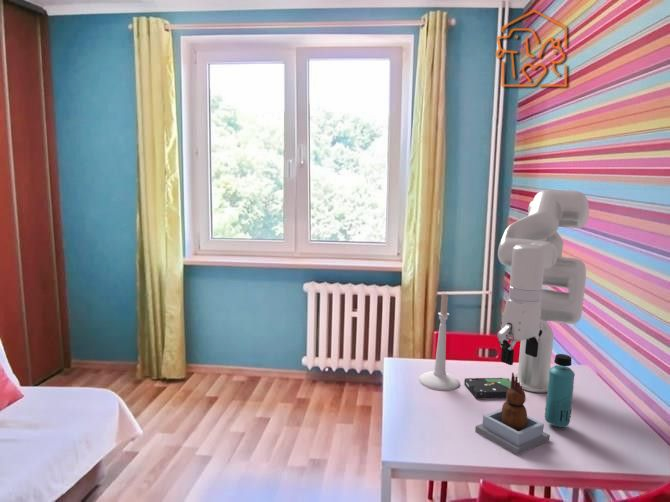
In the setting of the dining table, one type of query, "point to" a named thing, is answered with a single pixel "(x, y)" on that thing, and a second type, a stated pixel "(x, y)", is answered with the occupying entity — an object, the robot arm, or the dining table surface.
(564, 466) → the dining table surface
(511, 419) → the wooden figurine
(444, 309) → the candlestick
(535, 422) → the figurine dock
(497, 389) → the disk drive
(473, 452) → the dining table surface
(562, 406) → the beverage bottle
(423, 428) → the dining table surface
